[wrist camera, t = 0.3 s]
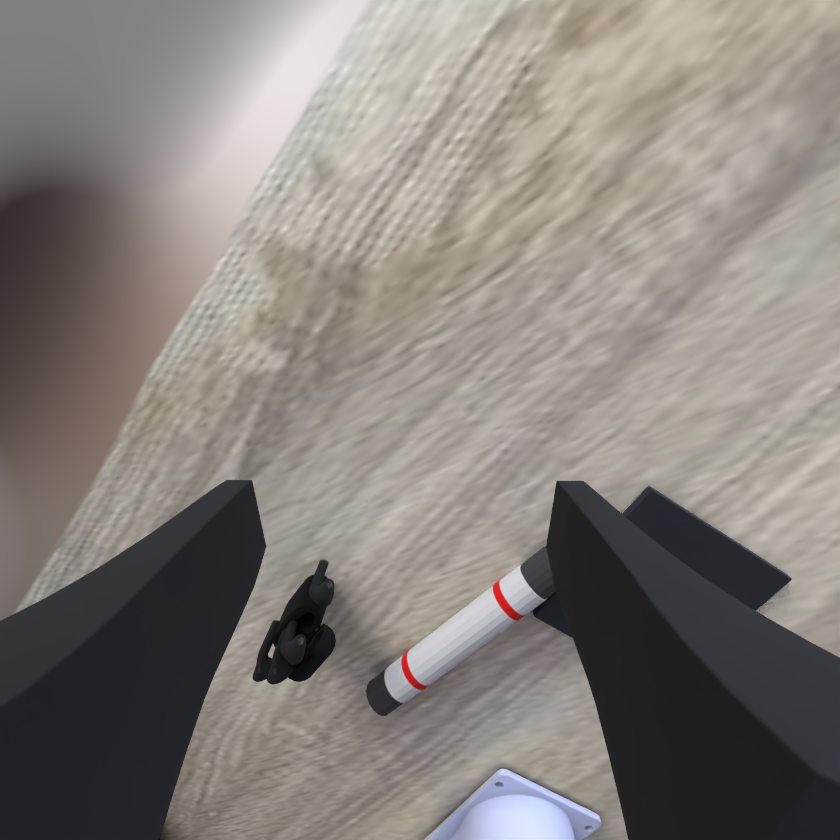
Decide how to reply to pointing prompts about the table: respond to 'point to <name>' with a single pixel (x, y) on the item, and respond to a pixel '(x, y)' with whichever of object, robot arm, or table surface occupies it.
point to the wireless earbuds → (299, 633)
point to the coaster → (691, 555)
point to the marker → (463, 634)
